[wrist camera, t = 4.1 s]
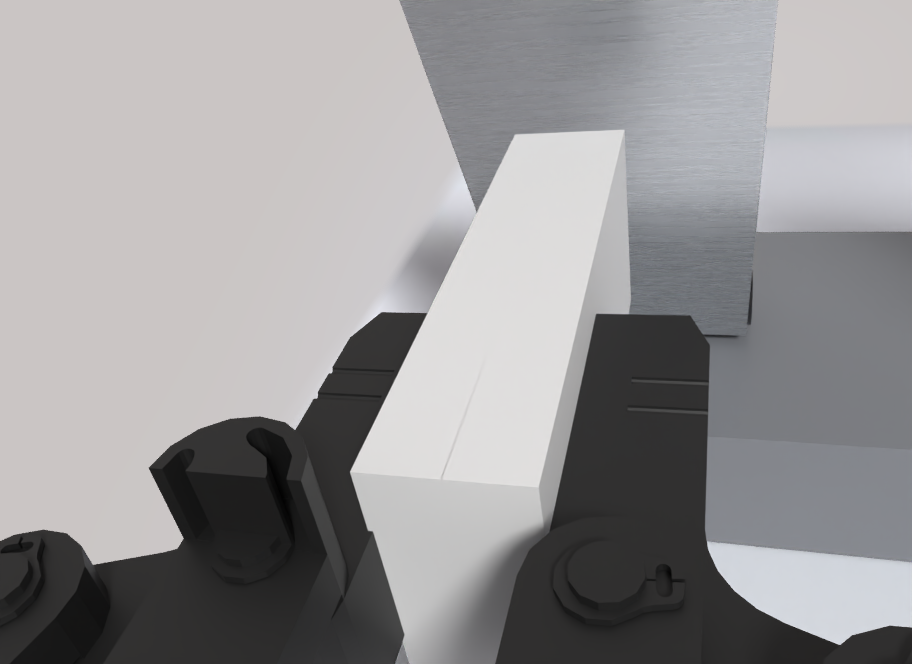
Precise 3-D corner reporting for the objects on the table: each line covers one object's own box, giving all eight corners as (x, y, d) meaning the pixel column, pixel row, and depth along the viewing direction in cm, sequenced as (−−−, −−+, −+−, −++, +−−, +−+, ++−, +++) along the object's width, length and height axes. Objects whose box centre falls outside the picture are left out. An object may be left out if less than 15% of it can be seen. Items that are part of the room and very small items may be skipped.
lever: (749, 346, 18) (805, -173, 9) (519, 338, 20) (351, -111, 10) (750, 278, 19) (802, -266, 10) (529, 275, 21) (381, -196, 11)
